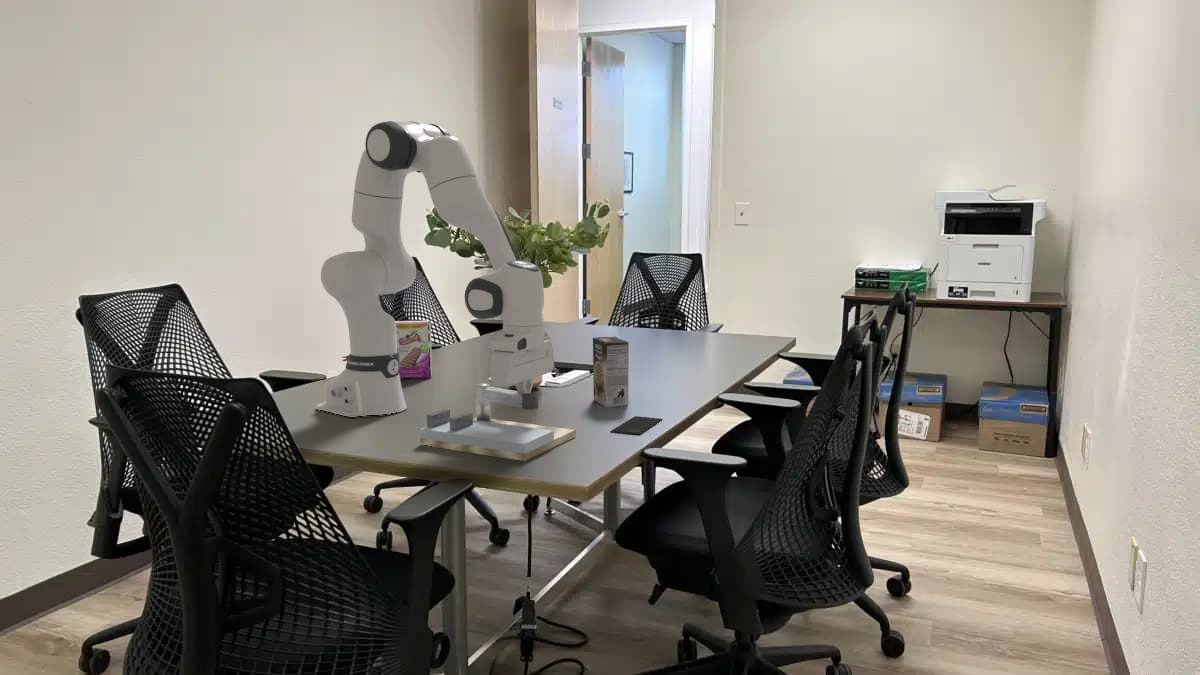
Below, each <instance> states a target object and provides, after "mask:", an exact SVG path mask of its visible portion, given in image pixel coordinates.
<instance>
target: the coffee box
mask: <svg viewBox="0 0 1200 675" xmlns="http://www.w3.org/2000/svg"><path fill="white" fill-rule="evenodd" d="M629 346H630V345H629V341H626V340H624V339H622V338H619V337H617V336H599V337H592V359H593V360H592V361H593V362H592V363H593V364H592V367H593V368H592V370H593V371H592V372H593V375H592V376H593V378H592V379H593V400H594V401H595V402H596V403H599V404H600V405H602V406H603V407H605V408H611V407H623V406H629V365H630V364H629V353H630V352H629Z"/></svg>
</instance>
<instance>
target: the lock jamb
mask: <svg viewBox="0 0 1200 675" xmlns="http://www.w3.org/2000/svg"><path fill="white" fill-rule="evenodd" d="M473 416H474V415H473V412H469V411H465V412H463V413H461V414H457V415H454V416H452V417H451V410H450V409H447V408H446V409H445V408H443V409H441V410H438V411H435V412H432V413H429V414H427V415H426V426H424V427H422V428H420V429H419V432H420V433H419V434H420V436H419V438H420V445H421V444H422V445H421V446H424V445H428V446H427V447H430V446H432V447H431V448H437V449H438V448H439V449H443V450H444V449H445V450H451V451H457V452H464V453H469V454H475V455H476V454H477V455H483V456H490V457H495V458H502V459H510V460H516V461H522V462H526V461H529V460H531V459H532V458H534V457H537V456H539V455H541V454H543V453H545V452H547V451H549V450H551V449H554V448H555V447H557V446H559V445H562V444H563V443H566V442H568V441H570V440H572V439H573V438H575V437H576V434H577V433H576V429H572V428H571V429H570V428H564V427H555V426H547V425H539V424H534V423H533V424H532V423H527V422H526V423H525V422H518V421H509V420H501V419H495V418H491V421H489V422H485V421H477V420H476V417H473Z"/></svg>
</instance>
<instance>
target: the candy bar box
mask: <svg viewBox="0 0 1200 675" xmlns="http://www.w3.org/2000/svg"><path fill="white" fill-rule="evenodd" d="M395 322H396V333H397V351H398V352H399V356H400V367H399V375H400V378H404V379H403V380H406V379H405V378H409V379H408V380H411V379H410V378H414V379H413V380H416V379H415V378H418V379H419V380H421V379H420V378H425V379H431V378H432V376H433V356H432V354H433V353H432V350H433V349H432V323H431V320H395ZM418 379H417V380H418Z"/></svg>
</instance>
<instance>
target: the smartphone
mask: <svg viewBox="0 0 1200 675" xmlns="http://www.w3.org/2000/svg"><path fill="white" fill-rule="evenodd" d="M662 420H663V418H657V417H647V416H636V415H635V416H633V417H631V418H630V419H628V420H626V421H624V422H623V423H621V424H620V425H618V426H617V427H614V428H613V429H612V430H611V429H610V432H609V433H611V434H619V435H629V436H636V435H637V436H638V437H639V436H641V435H643V434H644V433H647V432H648V431H649V430H651V429H652V428H653V426H654V427H655V426H657V425H658V424H659V422H660V421H661V422H662ZM663 421H664V420H663ZM661 422H660V423H661ZM657 423H658V424H657ZM656 424H657V425H656ZM650 428H651V429H650Z"/></svg>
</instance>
